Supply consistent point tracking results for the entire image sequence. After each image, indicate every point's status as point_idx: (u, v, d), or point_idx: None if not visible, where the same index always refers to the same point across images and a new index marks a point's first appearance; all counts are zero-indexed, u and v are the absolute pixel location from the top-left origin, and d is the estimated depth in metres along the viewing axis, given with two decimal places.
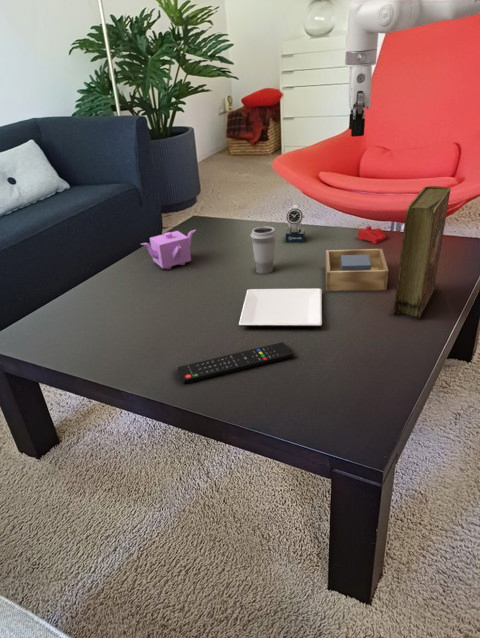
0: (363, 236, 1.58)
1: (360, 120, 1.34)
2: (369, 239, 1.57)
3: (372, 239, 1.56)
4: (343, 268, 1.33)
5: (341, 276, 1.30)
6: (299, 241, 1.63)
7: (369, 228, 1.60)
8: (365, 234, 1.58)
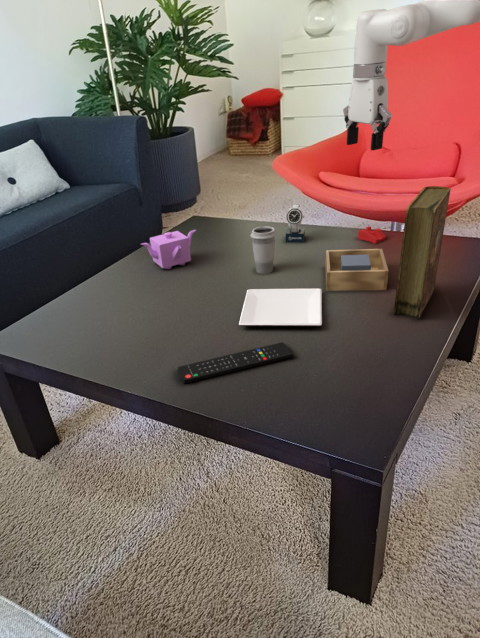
0: (363, 237, 1.58)
1: (381, 133, 1.30)
2: (369, 239, 1.57)
3: (372, 239, 1.56)
4: (343, 268, 1.33)
5: (341, 276, 1.30)
6: (299, 241, 1.63)
7: (369, 228, 1.60)
8: (365, 234, 1.58)
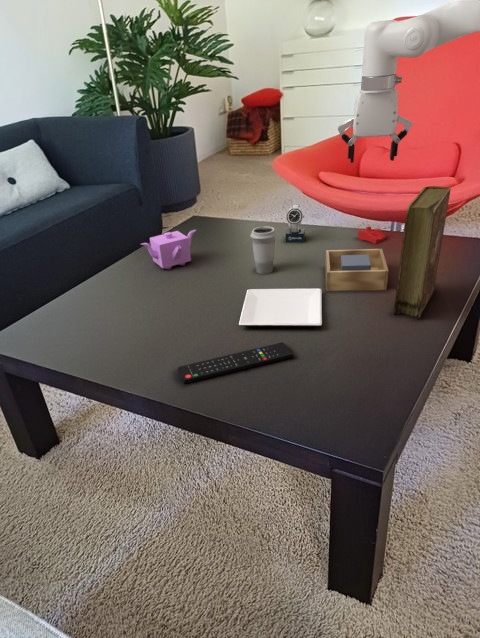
0: (363, 237, 1.58)
1: None
2: (369, 239, 1.57)
3: (372, 239, 1.56)
4: (343, 268, 1.33)
5: (341, 276, 1.30)
6: (299, 241, 1.63)
7: (369, 228, 1.60)
8: (365, 234, 1.58)
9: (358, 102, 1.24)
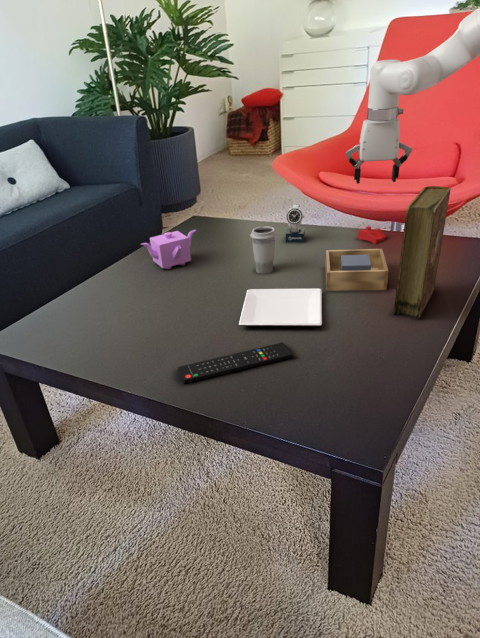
0: (363, 236, 1.58)
1: None
2: (369, 239, 1.57)
3: (372, 239, 1.56)
4: (343, 268, 1.33)
5: (341, 276, 1.30)
6: (299, 241, 1.63)
7: (369, 228, 1.60)
8: (365, 234, 1.58)
9: (364, 131, 1.39)
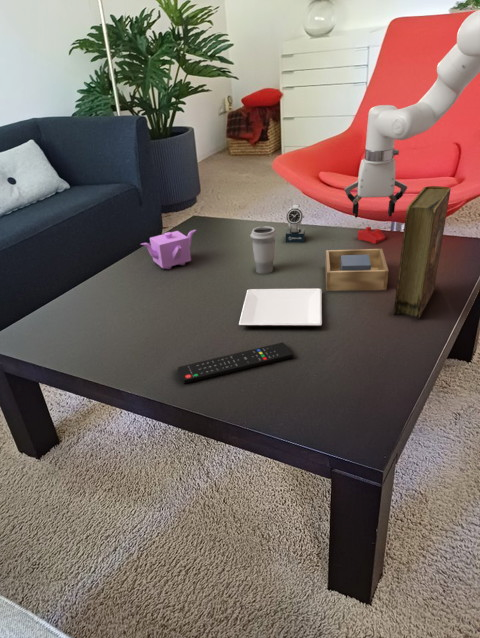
0: (363, 237, 1.58)
1: None
2: (369, 240, 1.57)
3: (372, 239, 1.56)
4: (343, 268, 1.33)
5: (341, 276, 1.30)
6: (299, 241, 1.63)
7: (369, 229, 1.60)
8: (365, 235, 1.58)
9: (362, 170, 1.47)
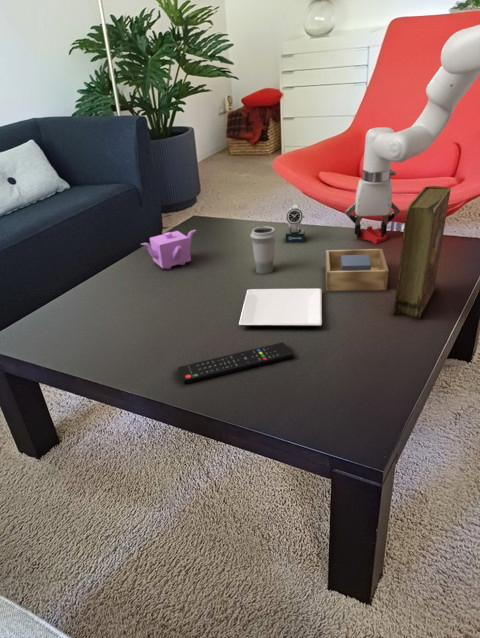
0: (364, 236, 1.58)
1: None
2: (370, 239, 1.57)
3: (373, 239, 1.56)
4: (343, 268, 1.33)
5: (341, 276, 1.30)
6: (299, 241, 1.63)
7: (370, 228, 1.60)
8: (366, 234, 1.57)
9: (360, 190, 1.50)
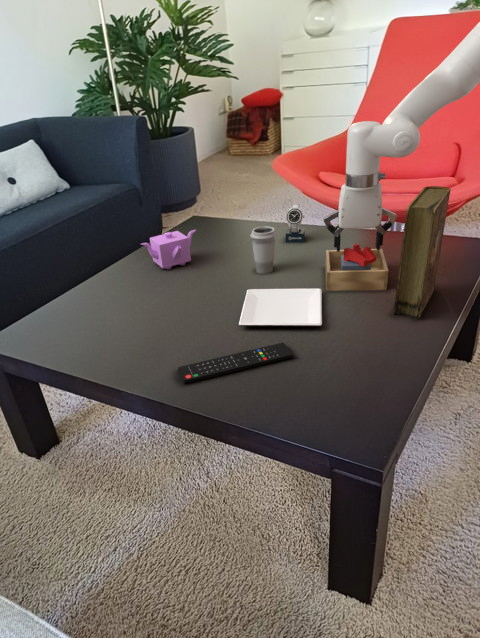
0: (350, 256, 1.33)
1: None
2: (356, 260, 1.32)
3: (360, 260, 1.31)
4: (343, 268, 1.33)
5: (341, 276, 1.30)
6: (299, 241, 1.63)
7: (357, 247, 1.35)
8: (351, 254, 1.32)
9: (343, 197, 1.24)
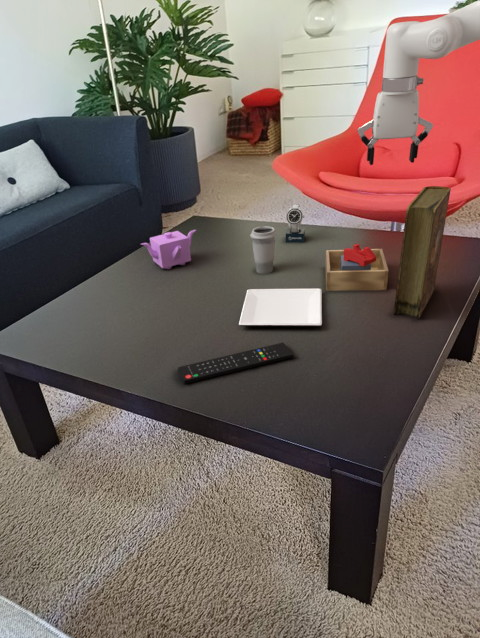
0: (350, 256, 1.33)
1: None
2: (356, 260, 1.32)
3: (360, 260, 1.31)
4: (343, 268, 1.33)
5: (341, 276, 1.30)
6: (299, 241, 1.63)
7: (357, 247, 1.35)
8: (351, 254, 1.32)
9: (379, 104, 1.23)
